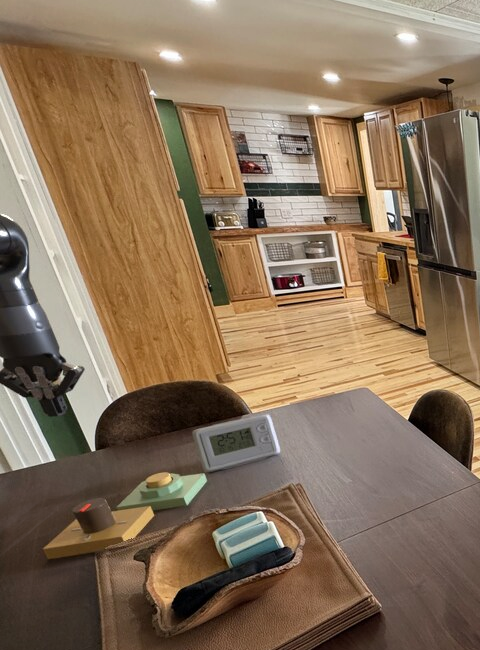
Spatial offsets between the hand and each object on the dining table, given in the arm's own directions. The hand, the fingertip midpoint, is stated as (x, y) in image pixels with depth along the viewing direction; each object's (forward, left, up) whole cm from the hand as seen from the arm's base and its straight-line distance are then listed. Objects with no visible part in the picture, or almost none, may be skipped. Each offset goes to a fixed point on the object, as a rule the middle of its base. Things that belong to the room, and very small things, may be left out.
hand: (57, 414), depth 92 cm
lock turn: (+5, -9, -21) cm, 23 cm away
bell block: (+10, +3, -23) cm, 25 cm away
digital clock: (+21, +16, -24) cm, 35 cm away
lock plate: (+5, -9, -23) cm, 26 cm away
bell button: (+10, +3, -20) cm, 22 cm away
